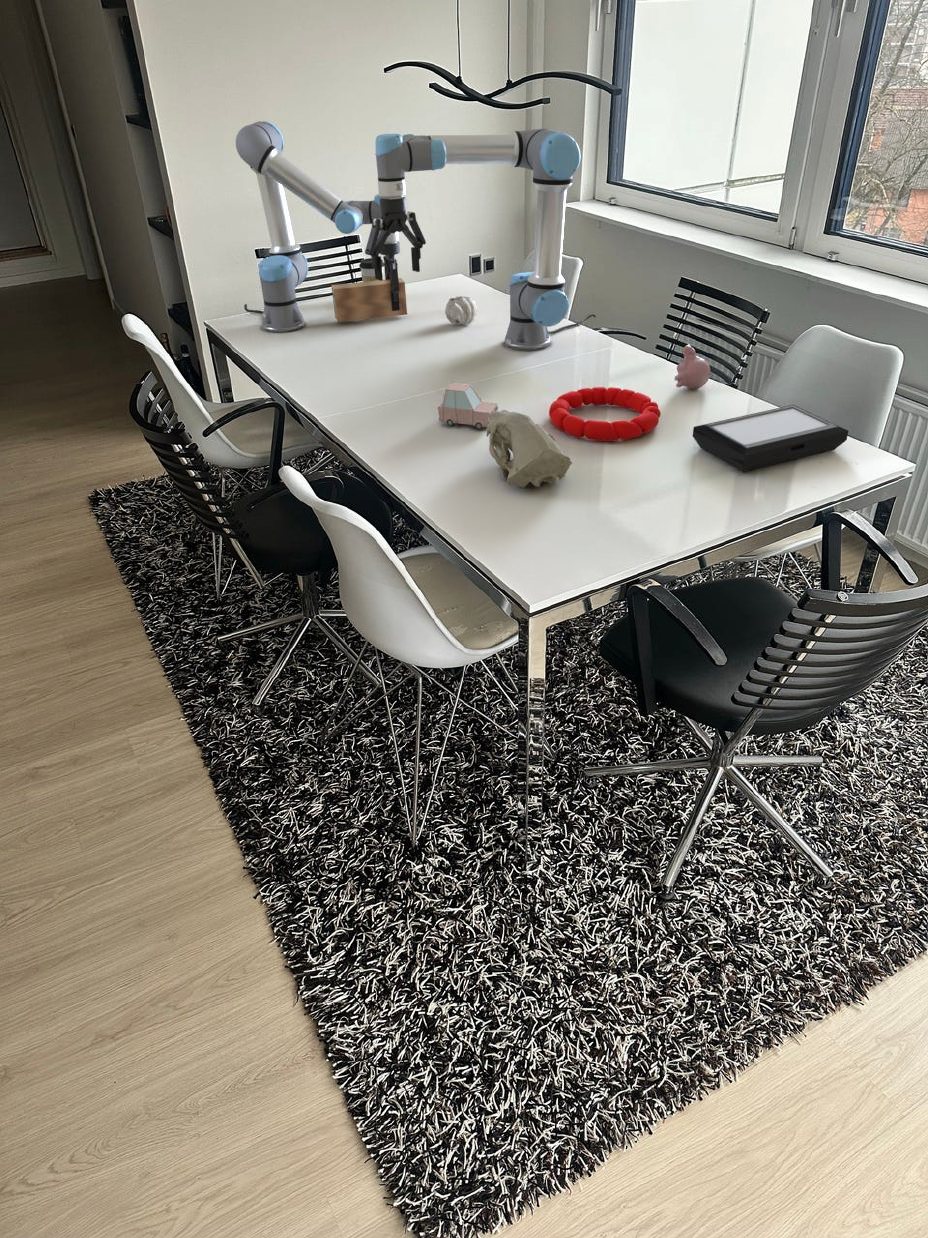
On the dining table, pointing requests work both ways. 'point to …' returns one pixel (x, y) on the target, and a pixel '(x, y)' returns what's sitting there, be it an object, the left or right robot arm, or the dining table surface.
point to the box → (366, 300)
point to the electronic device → (769, 437)
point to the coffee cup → (369, 270)
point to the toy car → (465, 406)
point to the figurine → (692, 370)
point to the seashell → (461, 310)
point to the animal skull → (525, 450)
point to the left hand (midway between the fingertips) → (394, 307)
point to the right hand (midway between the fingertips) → (397, 275)
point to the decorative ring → (604, 428)
